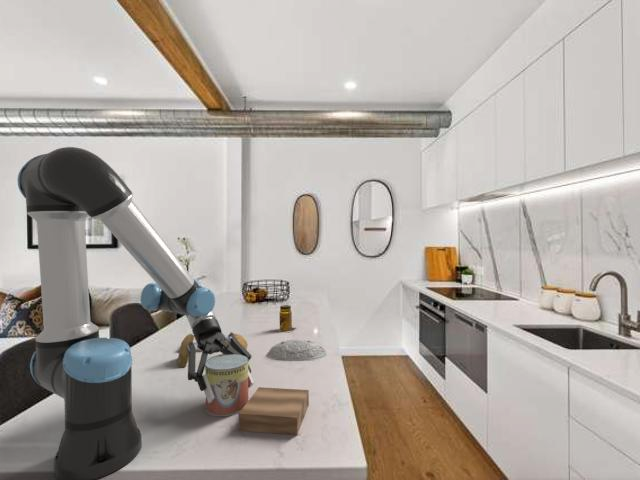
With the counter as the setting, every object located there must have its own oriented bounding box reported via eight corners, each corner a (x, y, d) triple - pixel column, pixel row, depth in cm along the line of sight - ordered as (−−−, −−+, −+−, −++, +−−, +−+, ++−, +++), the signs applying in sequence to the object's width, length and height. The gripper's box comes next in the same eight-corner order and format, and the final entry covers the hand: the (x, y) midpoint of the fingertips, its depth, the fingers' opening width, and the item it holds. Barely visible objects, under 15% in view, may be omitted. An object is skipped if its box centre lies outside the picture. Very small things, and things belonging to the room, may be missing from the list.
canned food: (204, 419, 83) (204, 371, 83) (206, 399, 94) (205, 356, 94) (250, 412, 87) (250, 366, 87) (247, 393, 97) (246, 352, 97)
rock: (190, 362, 116) (205, 349, 126) (175, 343, 117) (191, 331, 126) (170, 378, 119) (187, 364, 129) (155, 359, 119) (173, 346, 129)
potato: (218, 365, 120) (217, 343, 120) (223, 352, 133) (223, 332, 133) (245, 363, 121) (245, 341, 121) (248, 351, 135) (248, 331, 135)
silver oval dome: (329, 360, 123) (328, 341, 124) (262, 364, 123) (261, 346, 123) (328, 350, 138) (327, 333, 139) (268, 354, 138) (267, 338, 139)
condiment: (276, 331, 163) (276, 306, 163) (284, 327, 171) (283, 303, 171) (289, 332, 161) (289, 307, 161) (297, 328, 169) (296, 304, 169)
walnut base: (297, 435, 76) (297, 417, 76) (239, 430, 78) (238, 413, 78) (308, 404, 90) (308, 390, 90) (259, 401, 92) (258, 387, 92)
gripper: (234, 324, 110) (263, 385, 99) (160, 340, 93) (184, 416, 82) (243, 310, 106) (273, 372, 95) (167, 324, 89) (193, 401, 78)
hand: (232, 392), depth 89 cm, fingers closed on canned food, 11 cm apart
